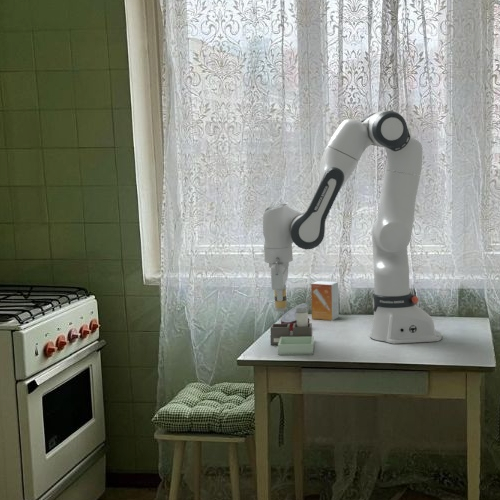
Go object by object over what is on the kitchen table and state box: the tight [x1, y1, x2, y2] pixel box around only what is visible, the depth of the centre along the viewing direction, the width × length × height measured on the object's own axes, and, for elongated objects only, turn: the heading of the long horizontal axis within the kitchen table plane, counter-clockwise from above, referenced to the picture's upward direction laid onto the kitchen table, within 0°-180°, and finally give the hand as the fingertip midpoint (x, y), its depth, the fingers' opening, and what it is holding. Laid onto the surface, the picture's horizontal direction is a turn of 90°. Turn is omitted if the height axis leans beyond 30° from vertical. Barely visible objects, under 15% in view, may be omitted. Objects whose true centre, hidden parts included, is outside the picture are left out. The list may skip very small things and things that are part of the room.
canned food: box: [280, 302, 310, 331], centre depth 285 cm, size 11×10×10 cm
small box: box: [310, 280, 340, 321], centre depth 298 cm, size 8×6×13 cm
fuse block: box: [269, 322, 313, 346], centre depth 264 cm, size 13×6×6 cm, turn 84°
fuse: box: [296, 307, 309, 327], centre depth 263 cm, size 4×4×8 cm
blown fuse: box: [273, 284, 288, 313], centre depth 263 cm, size 4×4×8 cm
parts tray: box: [277, 336, 315, 356], centre depth 254 cm, size 10×10×3 cm
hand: (280, 299), depth 263 cm, fingers closed on blown fuse, 4 cm apart
